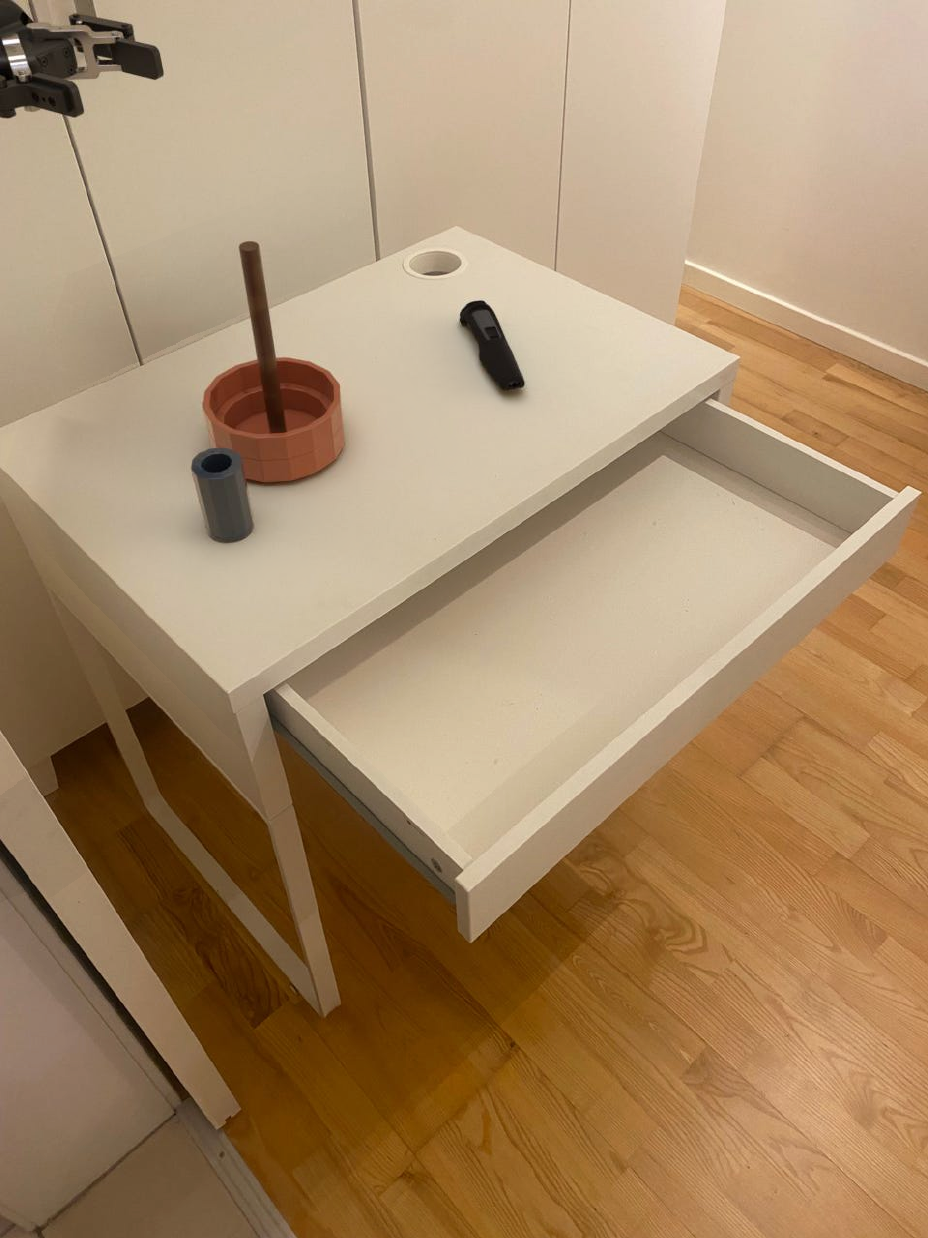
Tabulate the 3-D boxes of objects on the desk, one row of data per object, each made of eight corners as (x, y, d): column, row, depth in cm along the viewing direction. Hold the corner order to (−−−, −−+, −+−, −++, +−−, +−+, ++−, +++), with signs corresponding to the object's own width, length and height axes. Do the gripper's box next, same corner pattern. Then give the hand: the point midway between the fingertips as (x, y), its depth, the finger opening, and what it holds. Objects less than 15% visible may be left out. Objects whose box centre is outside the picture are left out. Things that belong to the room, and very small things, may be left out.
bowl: (209, 490, 86) (198, 441, 82) (217, 409, 94) (207, 360, 90) (346, 482, 87) (341, 433, 83) (343, 402, 95) (338, 354, 91)
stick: (271, 445, 89) (238, 251, 75) (270, 435, 90) (238, 241, 76) (288, 443, 89) (259, 249, 75) (287, 433, 90) (259, 239, 76)
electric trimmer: (495, 405, 95) (497, 378, 93) (456, 320, 105) (457, 294, 103) (531, 399, 96) (534, 373, 94) (489, 316, 106) (491, 290, 103)
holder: (205, 544, 81) (189, 480, 76) (208, 512, 84) (193, 448, 78) (253, 541, 81) (240, 477, 76) (255, 509, 84) (242, 445, 79)
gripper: (-137, 11, 68) (31, 54, 63) (14, -38, 77) (173, -4, 72) (-93, 122, 74) (64, 169, 69) (44, 65, 82) (193, 103, 77)
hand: (120, 81), depth 70 cm, fingers open, 8 cm apart
